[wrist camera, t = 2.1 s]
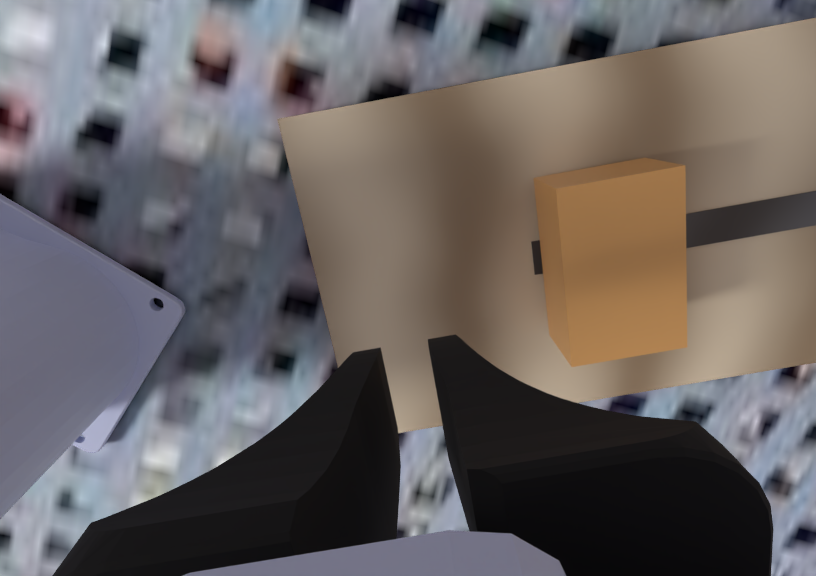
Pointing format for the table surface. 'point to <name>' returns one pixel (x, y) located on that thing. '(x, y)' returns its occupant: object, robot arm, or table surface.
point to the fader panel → (518, 224)
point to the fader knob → (614, 259)
